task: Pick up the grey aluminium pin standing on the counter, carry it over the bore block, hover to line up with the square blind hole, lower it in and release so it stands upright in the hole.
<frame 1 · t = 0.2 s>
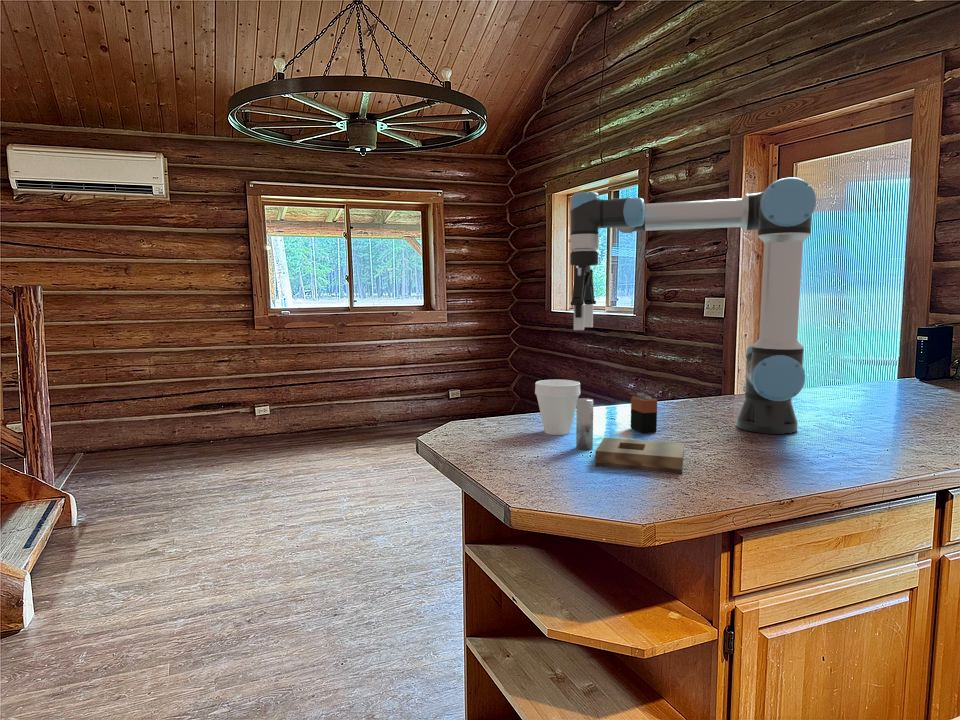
hand: (583, 328, 169), 28 cm above the table, fingers open, 13 cm apart
bore block: (640, 462, 136), on the table
battery: (643, 431, 167), on the table
cup: (557, 432, 166), on the table
pin: (584, 448, 148), on the table
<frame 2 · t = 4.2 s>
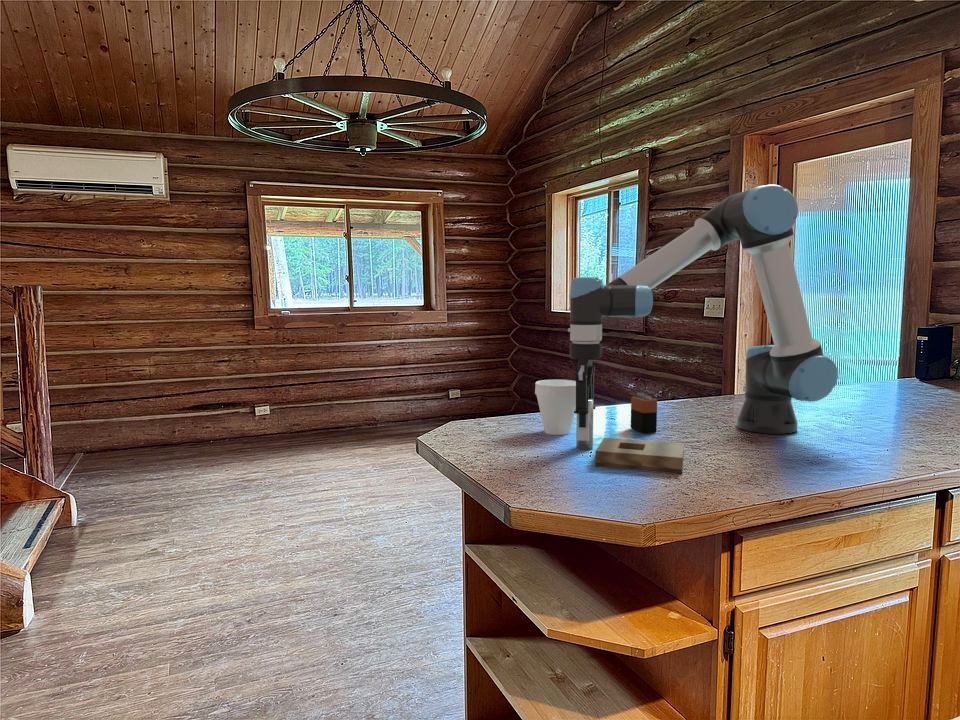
hand: (584, 437, 148), 3 cm above the table, fingers closed on pin, 4 cm apart
pin: (584, 448, 149), on the table, touching gripper
everything else where it was.
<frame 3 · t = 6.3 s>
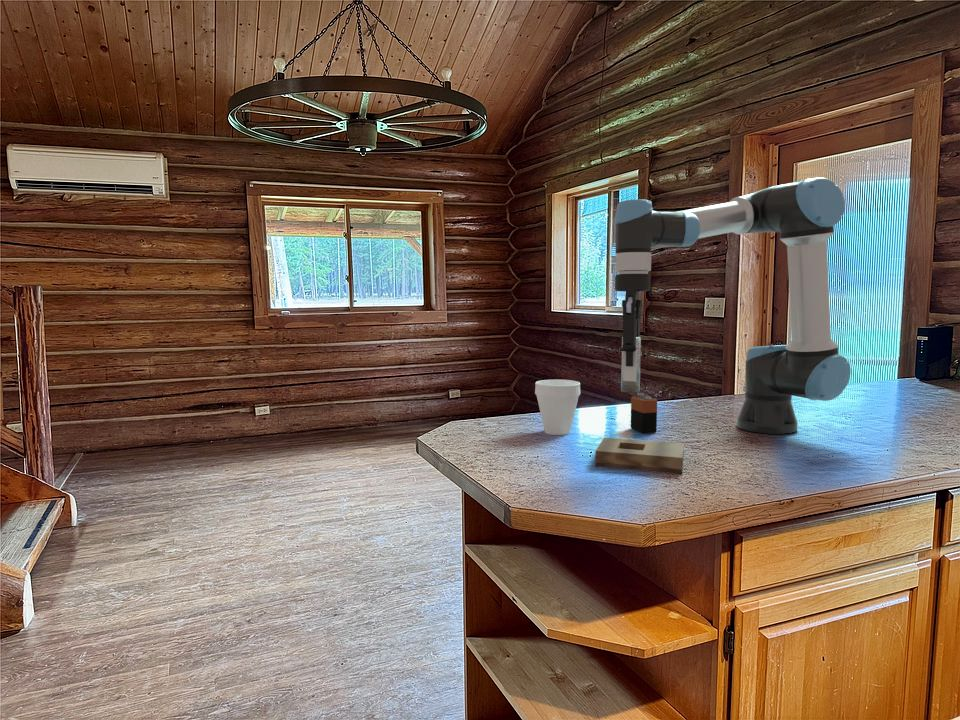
hand: (630, 379, 135), 19 cm above the table, fingers closed on pin, 4 cm apart
pin: (630, 390, 135), point 16 cm above the table, touching gripper
everything else where it was.
when the fingers open (5 cm above the table, at t = 8.9 s): pin drops 1 cm, resting on bore block.
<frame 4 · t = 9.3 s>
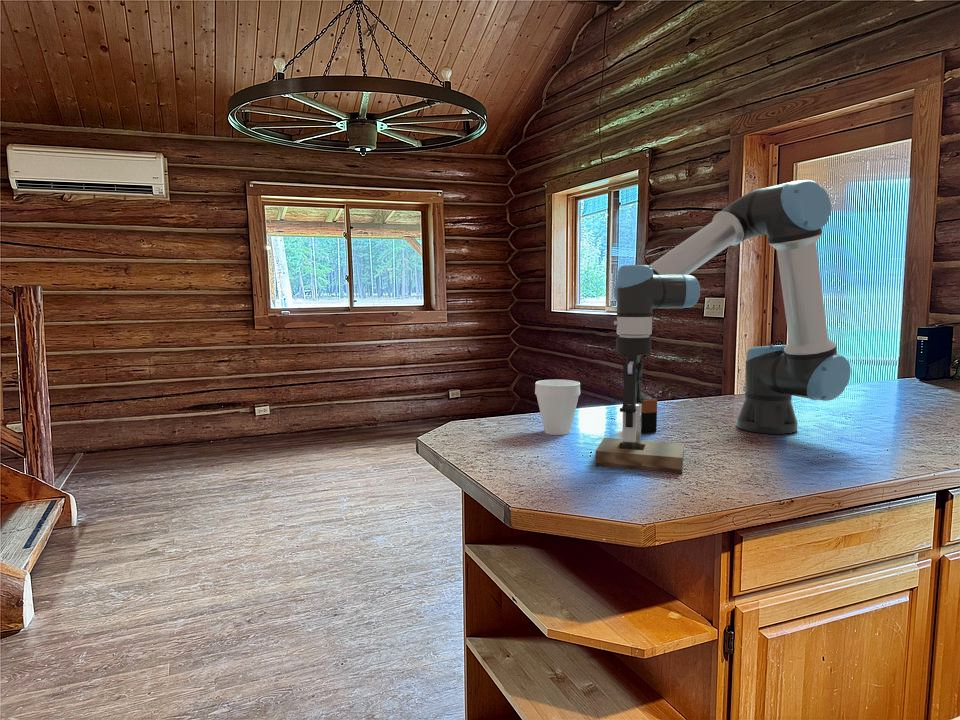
hand: (631, 436, 136), 6 cm above the table, fingers open, 9 cm apart
pin: (631, 456, 136), point 1 cm above the table, touching bore block
everything else where it was.
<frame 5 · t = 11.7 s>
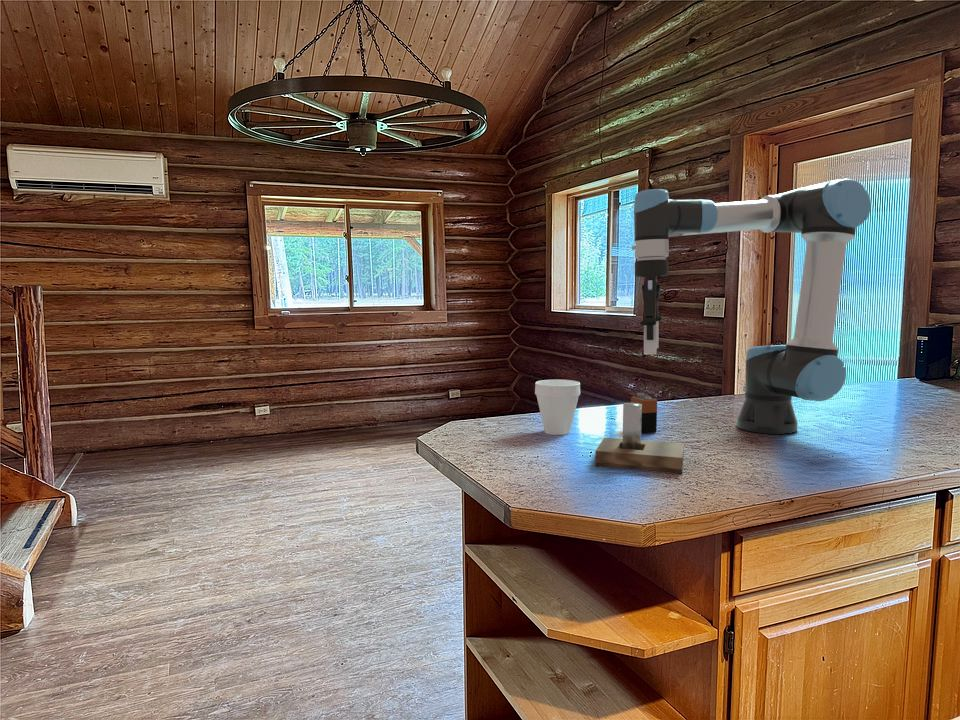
hand: (651, 351, 142), 24 cm above the table, fingers open, 13 cm apart
nothing on the table moved.
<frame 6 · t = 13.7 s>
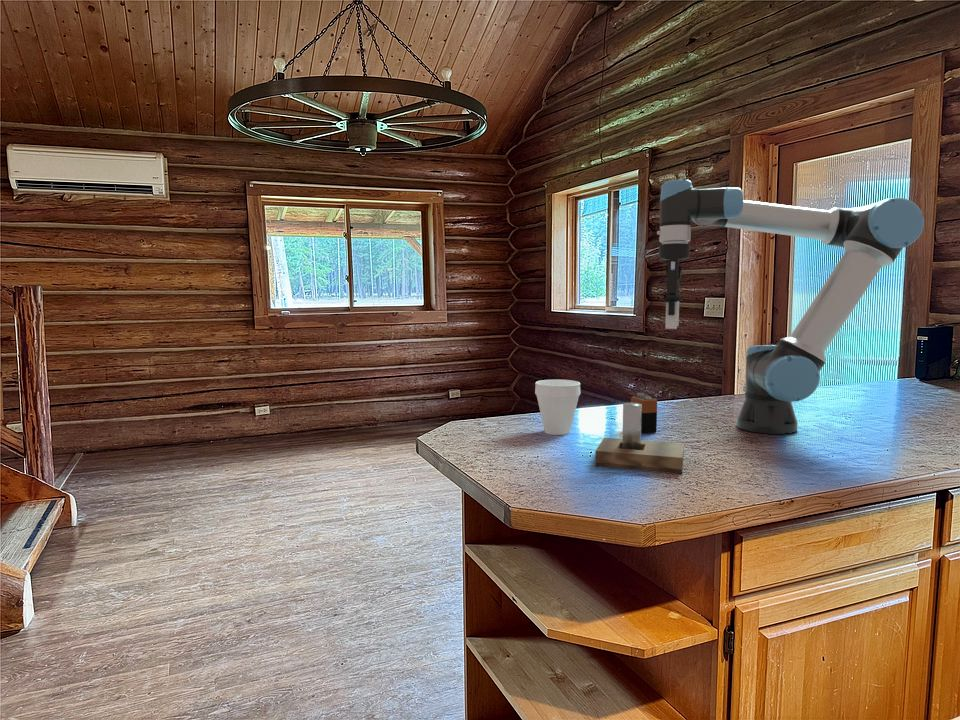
hand: (672, 327, 157), 29 cm above the table, fingers open, 13 cm apart
nothing on the table moved.
at the end: pin 0.1 cm from the target spot on the bore block, point 1.0 cm above the bore block's base; pin tilted 1°; the gripper is holding nothing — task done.
